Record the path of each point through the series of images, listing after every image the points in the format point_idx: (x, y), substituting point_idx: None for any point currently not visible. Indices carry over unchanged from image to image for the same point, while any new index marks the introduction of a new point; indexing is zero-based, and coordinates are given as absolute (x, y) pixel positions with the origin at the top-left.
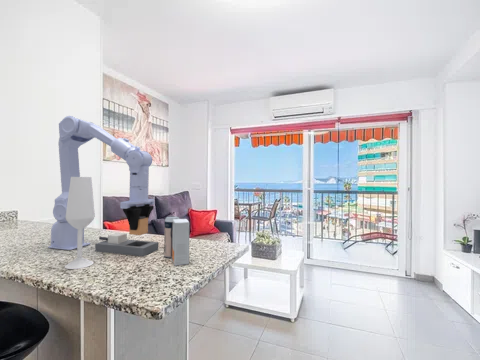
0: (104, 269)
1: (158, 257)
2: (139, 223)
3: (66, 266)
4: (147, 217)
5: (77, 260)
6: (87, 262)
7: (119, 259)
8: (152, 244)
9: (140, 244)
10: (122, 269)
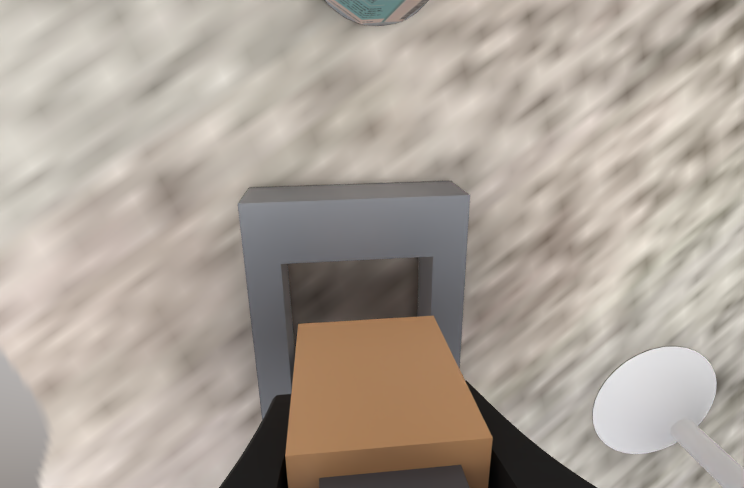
0: (713, 232)
1: (439, 51)
2: (472, 406)
3: (700, 422)
4: (263, 480)
5: (699, 412)
6: (665, 373)
7: (541, 285)
8: (334, 203)
9: (290, 343)
10: (708, 133)
